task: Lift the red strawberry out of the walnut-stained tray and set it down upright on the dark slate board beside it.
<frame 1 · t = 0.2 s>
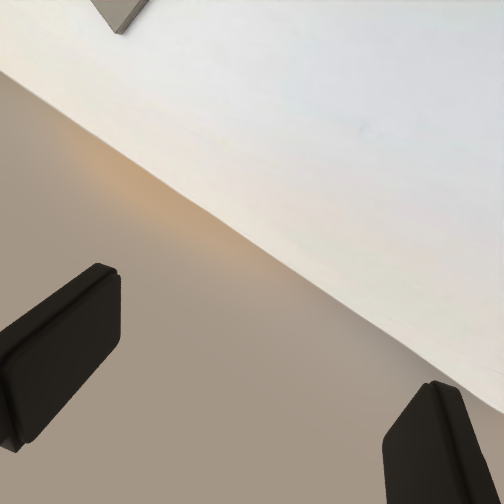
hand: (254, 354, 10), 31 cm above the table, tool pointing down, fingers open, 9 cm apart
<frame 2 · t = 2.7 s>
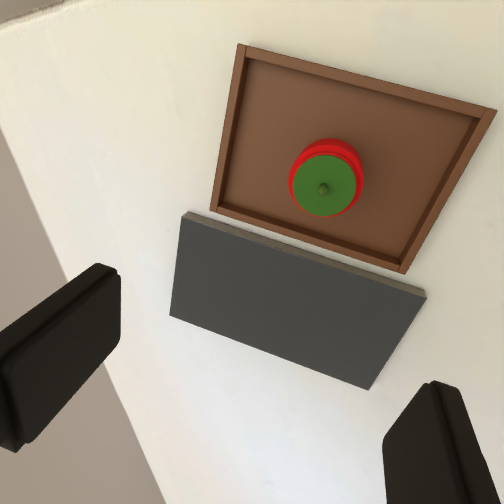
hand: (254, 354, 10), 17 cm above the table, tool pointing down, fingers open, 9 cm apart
board: (282, 300, 29), on the table
tray: (330, 163, 23), on the table
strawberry: (329, 165, 23), resting on tray
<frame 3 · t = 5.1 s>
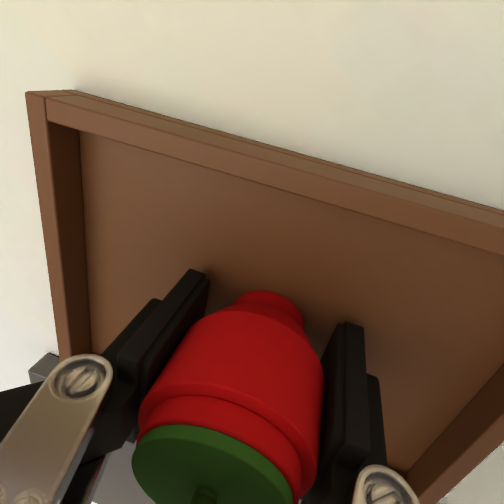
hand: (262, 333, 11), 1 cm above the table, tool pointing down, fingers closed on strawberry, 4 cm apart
board: (215, 482, 18), on the table
tray: (269, 312, 12), on the table
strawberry: (266, 321, 11), resting on tray, touching gripper
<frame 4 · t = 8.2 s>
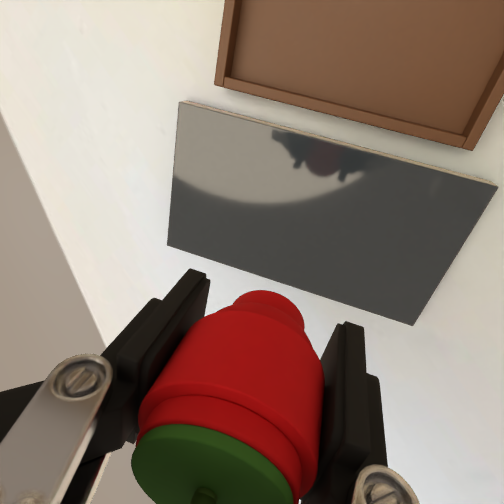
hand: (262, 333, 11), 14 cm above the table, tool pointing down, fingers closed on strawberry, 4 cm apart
board: (305, 215, 24), on the table
tray: (372, 3, 17), on the table
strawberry: (266, 321, 11), point 14 cm above the table, touching gripper
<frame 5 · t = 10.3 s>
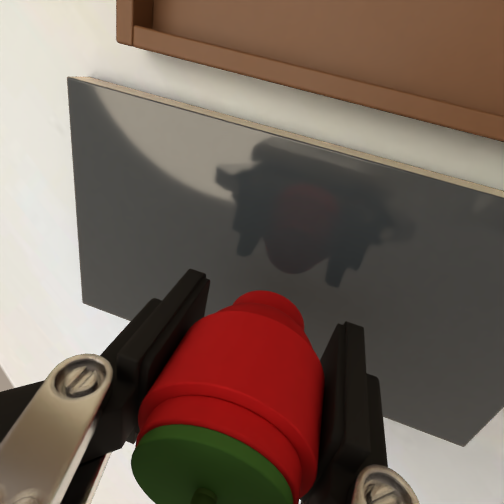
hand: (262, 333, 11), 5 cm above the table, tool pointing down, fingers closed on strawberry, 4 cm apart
board: (291, 268, 15), on the table
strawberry: (266, 321, 11), point 4 cm above the table, touching gripper
when the fingers open (2 cm above the table, at t = 11.4 s): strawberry stays where it is, resting on board.
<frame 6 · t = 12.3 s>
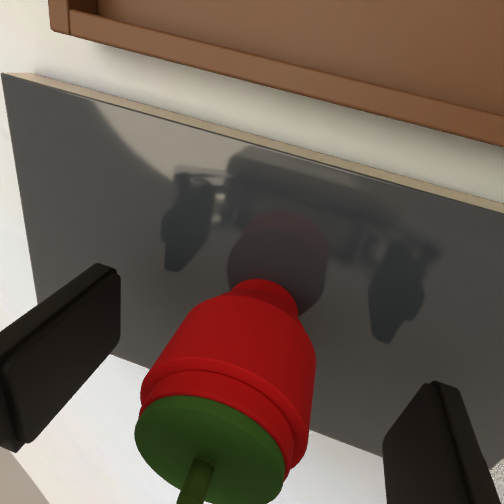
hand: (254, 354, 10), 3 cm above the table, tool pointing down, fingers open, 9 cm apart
board: (272, 291, 13), on the table
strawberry: (262, 308, 12), point 1 cm above the table, touching board
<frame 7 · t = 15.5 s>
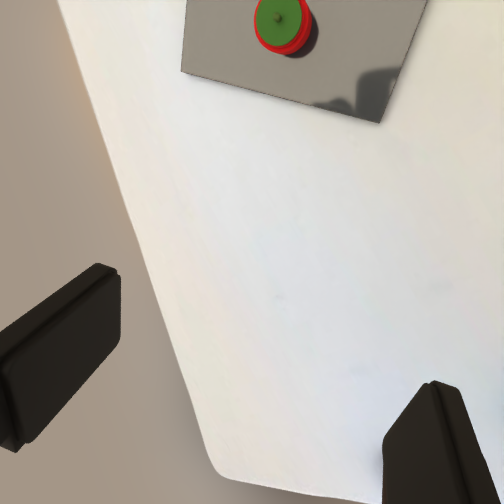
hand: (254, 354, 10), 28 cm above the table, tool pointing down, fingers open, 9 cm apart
board: (293, 30, 30), on the table
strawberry: (290, 28, 29), point 1 cm above the table, touching board
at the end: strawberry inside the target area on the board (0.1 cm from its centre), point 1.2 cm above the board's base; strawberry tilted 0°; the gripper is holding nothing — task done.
